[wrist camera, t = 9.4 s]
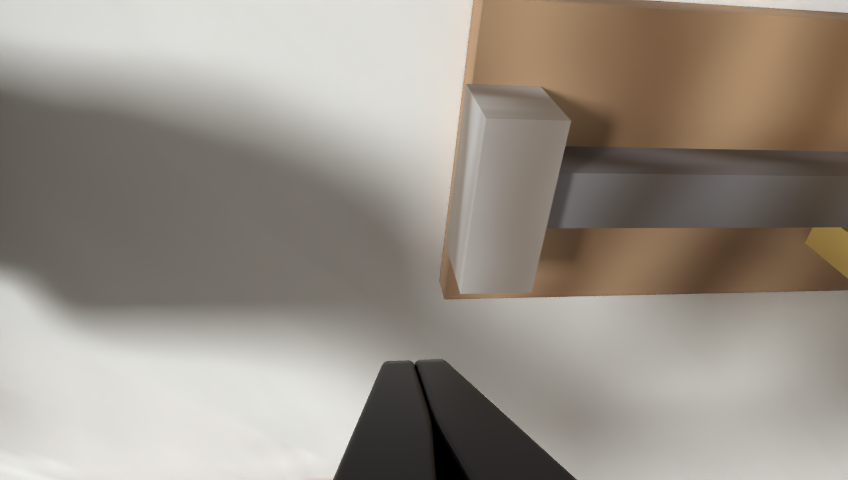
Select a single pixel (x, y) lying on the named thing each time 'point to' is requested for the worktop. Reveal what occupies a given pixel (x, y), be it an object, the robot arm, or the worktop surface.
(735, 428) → the worktop surface
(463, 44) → the worktop surface
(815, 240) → the yellow rectangular block
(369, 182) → the worktop surface
